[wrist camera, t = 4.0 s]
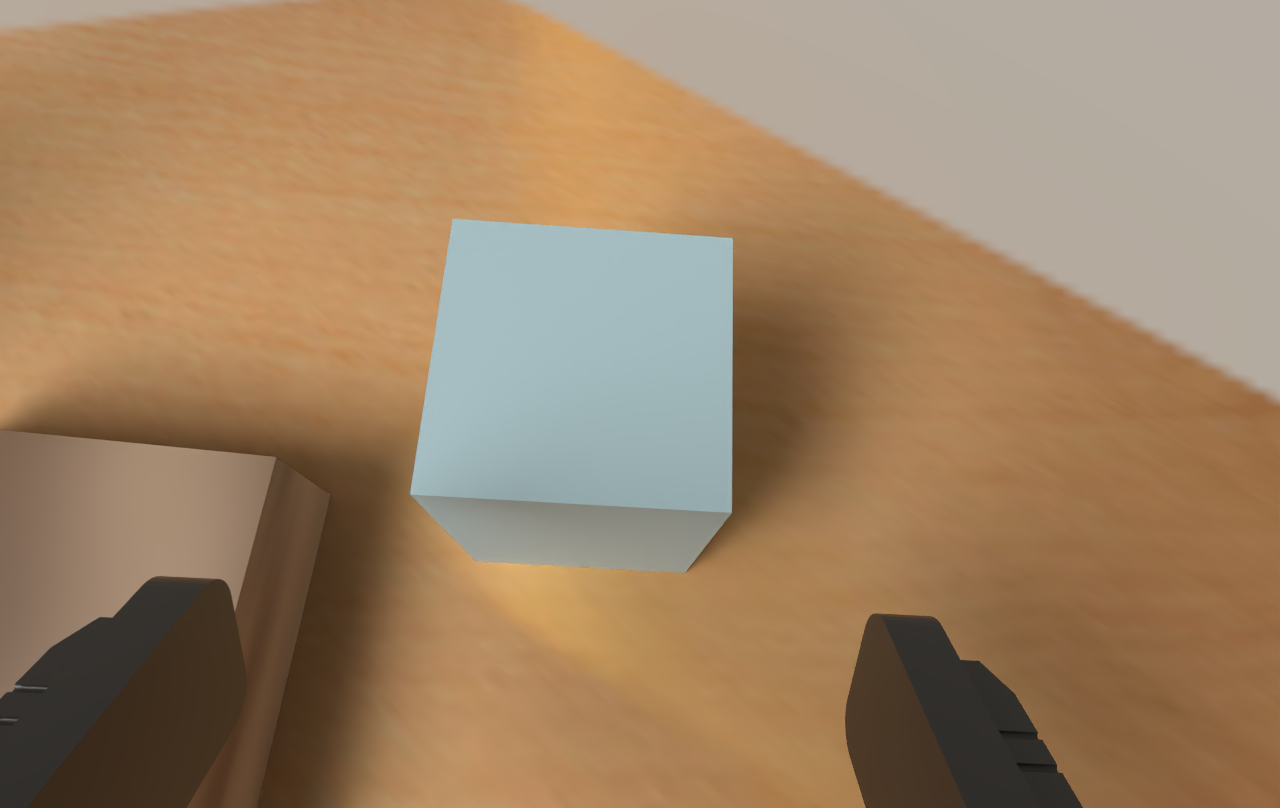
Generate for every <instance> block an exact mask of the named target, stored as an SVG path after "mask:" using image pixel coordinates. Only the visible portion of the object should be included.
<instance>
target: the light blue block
mask: <svg viewBox="0 0 1280 808" xmlns="http://www.w3.org/2000/svg"><path fill="white" fill-rule="evenodd" d="M732 359H733V238H723V237H709V236H695V235H680V234H666V233H651V232H637V231H622V230H608V229H593V228H579V227H564V226H550V225H535V224H521V223H506V222H492V221H477V220H463V219H453V220H452V227H451V233H450V239H449V246H448V252H447V259H446V265H445V272H444V278H443V285H442V291H441V297H440V304H439V310H438V317H437V323H436V330H435V336H434V342H433V349H432V355H431V362H430V368H429V375H428V381H427V388H426V394H425V400H424V407H423V413H422V420H421V426H420V433H419V439H418V445H417V452H416V458H415V465H414V471H413V478H412V484H411V491H410V495H411V496H412V497H413V498H414V499H415V500H416V501H417V502H418V503H419V504H420V505H421V506H422V507H423V508H424V509H425V510H426V511H427V512H428V513H429V514H430V515H431V516H432V517H433V519H434V520H435V521H436V522H437V523H438V524H439V525H440V526H441V527H442V528H443V529H444V530H445V531H446V532H447V533H448V534H449V535H450V536H451V537H452V538H453V539H454V540H455V541H456V542H457V543H458V544H459V545H460V546H461V547H462V548H463V549H464V550H465V551H466V552H467V553H468V554H469V555H470V556H471V557H472V558H473V559H474V560H475V561H476V562H493V563H511V564H530V565H548V566H567V567H585V568H604V569H622V570H641V571H659V572H678V573H685V572H686V571H687V570H688V568H689V567H690V566H691V565H692V563H693V562H694V561H695V559H696V558H697V557H698V556H699V554H700V553H701V552H702V550H703V549H704V548H705V547H706V545H707V544H708V543H709V542H710V540H711V539H712V538H713V536H714V535H715V534H716V533H717V531H718V530H719V529H720V527H721V526H722V525H723V524H724V522H725V521H726V520H727V519H728V517H729V516H730V515H731V513H732Z"/></svg>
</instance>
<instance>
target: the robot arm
mask: <svg viewBox="0 0 1280 808" xmlns="http://www.w3.org/2000/svg"><path fill="white" fill-rule="evenodd" d="M246 685H247V675H246V668H245V663H244V658H243V652H242V647H241V642H240V637H239V632H238V626H237V621H236V616H235V611H234V606H233V600H232V595H231V591H230V589H229V586H228V585H227V583H226V582H225V581H223V580H221V579H210V578H190V577H170V576H156V577H153V578H151V579H149V580H148V581H146V582H145V583H144V584H143V585H142V586H141V587H140V588H139V590H138V591H137V592H136V593H135V594H134V595H133V596H132V597H131V598H130V599H129V600H128V601H127V602H126V604H125V605H124V606H123V607H122V608H121V609H120V610H119V611H118V612H117V613H116V614H115V615H114V616H113V618H111V617H99V618H97V619H96V620H94V621H92V622H91V623H89V624H87V625H86V626H84V627H83V628H81V629H79V630H78V631H76V632H75V633H73V634H71V635H70V636H68V637H67V638H65V639H63V640H62V641H60V642H59V643H57V644H55V645H54V646H52V647H51V648H50V649H49V650H48V651H47V652H46V653H45V654H44V655H43V656H42V657H41V658H40V659H39V660H38V661H37V662H36V663H35V664H34V665H33V666H32V667H31V668H30V669H29V670H28V671H27V672H26V673H25V674H24V675H23V676H22V677H21V678H20V679H19V680H18V681H17V682H16V683H15V688H14V690H13V691H12V692H6V693H5V694H4V695H3V696H2V697H1V698H0V808H187V806H188V805H189V803H190V801H191V800H192V798H193V796H194V795H195V793H196V791H197V790H198V788H199V786H200V785H201V783H202V781H203V779H204V778H205V776H206V774H207V773H208V771H209V769H210V768H211V766H212V764H213V763H214V761H215V759H216V758H217V756H218V754H219V753H220V751H221V749H222V748H223V746H224V744H225V742H226V741H227V739H228V737H229V736H230V734H231V732H232V731H233V729H234V727H235V725H236V723H237V721H238V719H239V716H240V713H241V711H242V707H243V704H244V699H245V694H246ZM845 726H846V739H847V746H848V750H849V754H850V758H851V761H852V765H853V768H854V771H855V774H856V778H857V781H858V784H859V787H860V790H861V794H862V797H863V800H864V803H865V806H866V808H1083V807H1082V806H1081V804H1080V802H1079V801H1078V799H1077V797H1076V796H1075V794H1074V792H1073V791H1072V789H1071V787H1070V785H1069V784H1068V782H1067V780H1066V779H1065V777H1064V775H1063V774H1062V773H1058V771H1057V764H1056V762H1055V760H1054V759H1053V757H1052V755H1051V754H1050V752H1049V750H1048V749H1047V747H1046V745H1045V744H1044V742H1043V740H1039V739H1038V737H1037V733H1038V732H1037V730H1036V729H1035V727H1034V725H1033V724H1032V722H1031V720H1030V719H1029V717H1028V715H1027V714H1026V712H1025V710H1024V709H1023V707H1022V705H1021V704H1020V702H1019V700H1018V699H1017V697H1016V695H1015V694H1014V693H1013V692H1012V691H1011V690H1010V689H1009V688H1008V687H1006V686H1005V685H1004V684H1003V683H1002V682H1001V681H1000V680H999V679H998V678H997V677H996V676H995V675H993V674H992V673H991V672H990V671H989V670H988V669H987V668H986V667H985V666H984V665H983V664H982V663H980V662H979V661H967V660H960V659H959V657H958V655H957V653H956V651H955V649H954V648H953V646H952V644H951V642H950V640H949V638H948V637H947V635H946V633H945V631H944V629H943V627H942V626H941V624H940V623H939V621H938V620H937V619H936V618H934V617H931V616H914V615H894V614H872V615H871V616H870V617H869V619H868V621H867V623H866V627H865V630H864V634H863V638H862V642H861V647H860V651H859V655H858V659H857V663H856V667H855V671H854V675H853V679H852V683H851V687H850V691H849V696H848V700H847V705H846V716H845Z"/></svg>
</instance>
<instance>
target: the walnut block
mask: <svg viewBox="0 0 1280 808" xmlns="http://www.w3.org/2000/svg"><path fill="white" fill-rule="evenodd" d="M330 497H331V495H330V494H328V493H327V492H325V491H324V490H323V489H321V488H320V487H318V486H317V485H315V484H314V483H313V482H311V481H310V480H308V479H307V478H306V477H304V476H303V475H301V474H300V473H298V472H297V471H296V470H294V469H293V468H291V467H290V466H288V465H287V464H286V463H284V462H283V461H281V460H280V459H278V458H277V457H272V456H262V455H251V454H241V453H231V452H221V451H211V450H201V449H191V448H181V447H170V446H160V445H150V444H140V443H130V442H120V441H110V440H99V439H89V438H79V437H69V436H59V435H49V434H39V433H28V432H18V431H8V430H0V698H1V697H2V696H3V695H4V694H5V693H6V692H12V691H13V690H14V688H15V683H16V682H17V681H18V680H19V679H20V678H21V677H22V676H23V675H24V674H25V673H26V672H27V671H28V670H29V669H30V668H31V667H32V666H33V665H34V664H35V663H36V662H37V661H38V660H39V659H40V658H41V657H42V656H43V655H44V654H45V653H46V652H47V651H48V650H49V649H50V648H51V647H52V646H54V645H55V644H57V643H59V642H60V641H62V640H63V639H65V638H67V637H68V636H70V635H71V634H73V633H75V632H76V631H78V630H79V629H81V628H83V627H84V626H86V625H87V624H89V623H91V622H92V621H94V620H96V619H97V618H99V617H111V618H113V616H114V615H115V614H116V613H117V612H118V611H119V610H120V609H121V608H122V607H123V606H124V605H125V604H126V602H127V601H128V600H129V599H130V598H131V597H132V596H133V595H134V594H135V593H136V592H137V591H138V590H139V588H140V587H141V586H142V585H143V584H144V583H145V582H146V581H148V580H149V579H151V578H153V577H156V576H170V577H190V578H210V579H221V580H223V581H225V582H226V583H227V585H228V586H229V589H230V591H231V595H232V600H233V606H234V611H235V616H236V621H237V626H238V632H239V637H240V642H241V647H242V652H243V658H244V663H245V668H246V675H247V685H246V694H245V699H244V704H243V707H242V711H241V713H240V716H239V719H238V721H237V723H236V725H235V727H234V729H233V731H232V732H231V734H230V736H229V737H228V739H227V741H226V742H225V744H224V746H223V748H222V749H221V751H220V753H219V754H218V756H217V758H216V759H215V761H214V763H213V764H212V766H211V768H210V769H209V771H208V773H207V774H206V776H205V778H204V779H203V781H202V783H201V785H200V786H199V788H198V790H197V791H196V793H195V795H194V796H193V798H192V800H191V801H190V803H189V805H188V806H187V808H257V806H258V801H259V797H260V793H261V789H262V784H263V780H264V776H265V772H266V768H267V763H268V759H269V755H270V751H271V746H272V742H273V738H274V734H275V729H276V725H277V721H278V717H279V713H280V708H281V704H282V700H283V696H284V691H285V687H286V683H287V679H288V675H289V670H290V666H291V662H292V658H293V653H294V649H295V645H296V641H297V636H298V632H299V628H300V624H301V620H302V615H303V611H304V607H305V603H306V598H307V594H308V590H309V586H310V581H311V577H312V573H313V569H314V565H315V560H316V556H317V552H318V548H319V543H320V539H321V535H322V531H323V526H324V522H325V518H326V514H327V510H328V505H329V501H330Z"/></svg>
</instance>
